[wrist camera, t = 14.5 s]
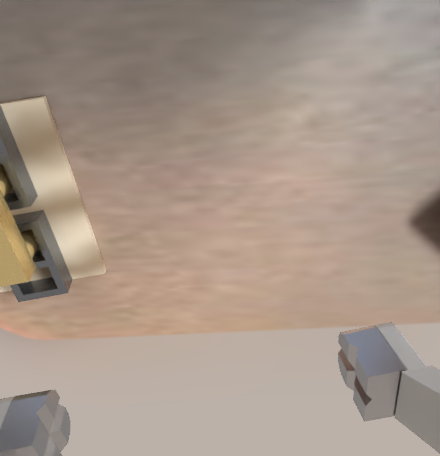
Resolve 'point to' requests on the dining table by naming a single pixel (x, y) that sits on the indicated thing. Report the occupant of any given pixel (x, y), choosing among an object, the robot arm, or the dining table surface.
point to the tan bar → (14, 242)
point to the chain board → (53, 187)
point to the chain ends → (31, 223)
